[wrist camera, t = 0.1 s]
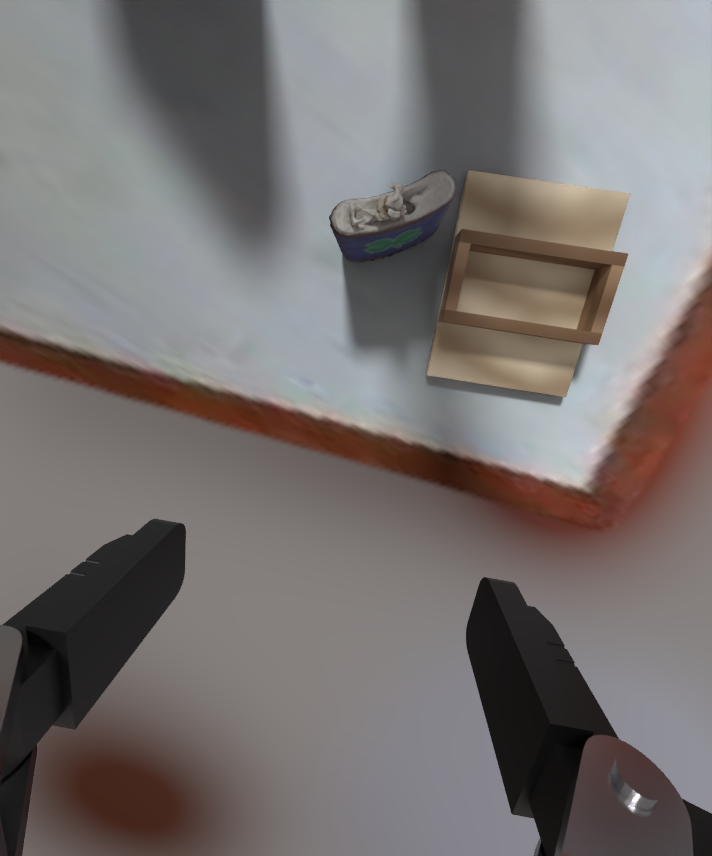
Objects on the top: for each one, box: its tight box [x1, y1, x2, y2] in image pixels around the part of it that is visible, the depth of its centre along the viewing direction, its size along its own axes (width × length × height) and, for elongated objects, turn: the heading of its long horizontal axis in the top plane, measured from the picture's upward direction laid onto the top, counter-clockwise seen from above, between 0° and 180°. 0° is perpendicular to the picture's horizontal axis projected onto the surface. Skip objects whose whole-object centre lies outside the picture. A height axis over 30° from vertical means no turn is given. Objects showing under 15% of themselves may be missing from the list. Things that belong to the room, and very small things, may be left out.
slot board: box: [426, 170, 630, 397], centre depth 32 cm, size 18×14×4 cm
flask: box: [329, 170, 456, 262], centre depth 28 cm, size 9×3×11 cm, turn 105°
